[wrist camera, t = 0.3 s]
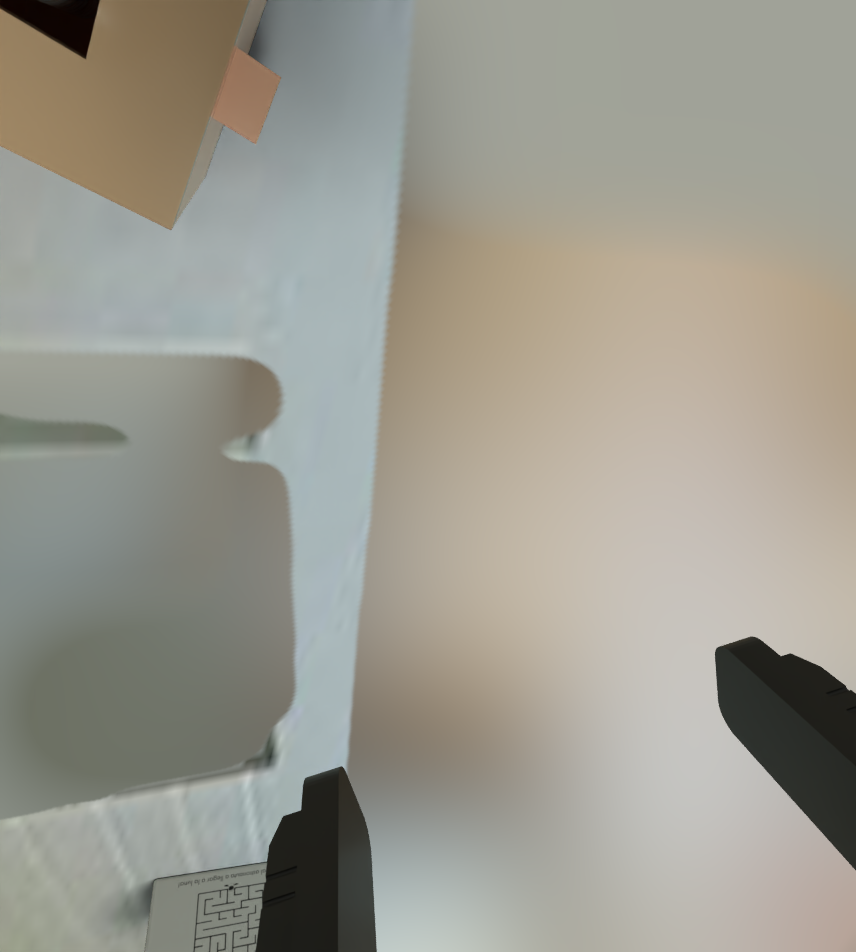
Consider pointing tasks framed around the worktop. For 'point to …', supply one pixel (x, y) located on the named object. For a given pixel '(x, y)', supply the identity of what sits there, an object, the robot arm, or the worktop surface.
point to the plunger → (76, 7)
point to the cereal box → (207, 911)
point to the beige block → (131, 93)
